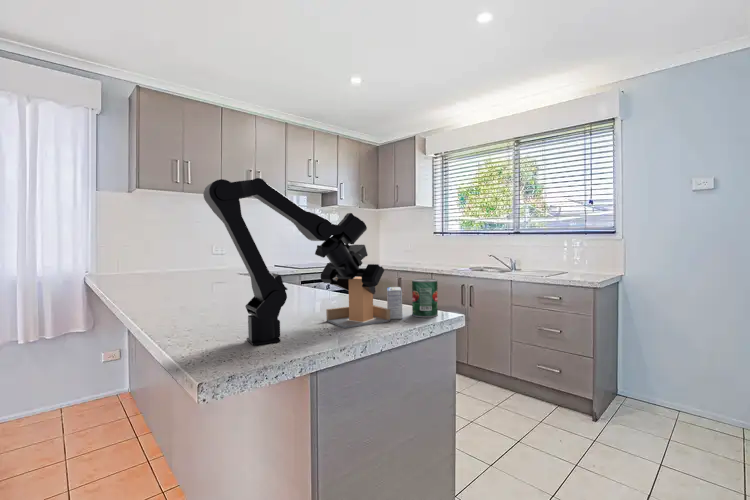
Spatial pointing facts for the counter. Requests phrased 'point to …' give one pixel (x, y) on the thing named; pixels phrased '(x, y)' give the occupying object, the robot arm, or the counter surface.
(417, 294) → the canned tomato
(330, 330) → the counter surface
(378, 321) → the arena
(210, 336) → the counter surface
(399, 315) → the medicine box
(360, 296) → the terracotta block
